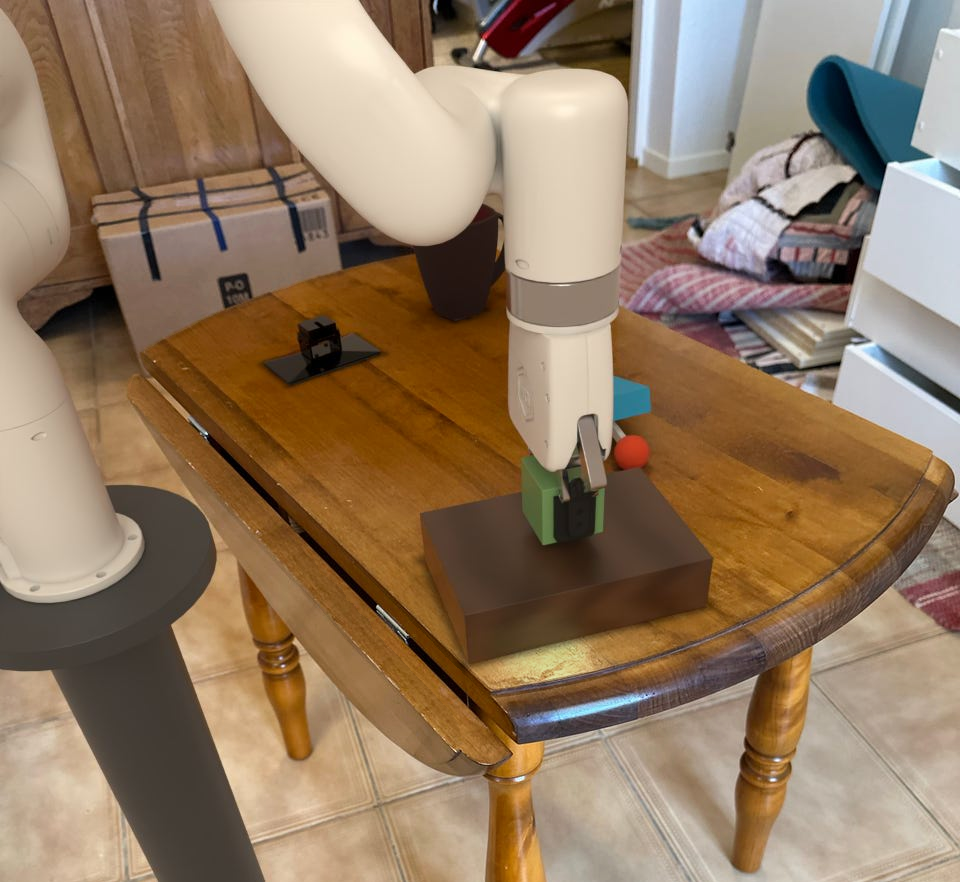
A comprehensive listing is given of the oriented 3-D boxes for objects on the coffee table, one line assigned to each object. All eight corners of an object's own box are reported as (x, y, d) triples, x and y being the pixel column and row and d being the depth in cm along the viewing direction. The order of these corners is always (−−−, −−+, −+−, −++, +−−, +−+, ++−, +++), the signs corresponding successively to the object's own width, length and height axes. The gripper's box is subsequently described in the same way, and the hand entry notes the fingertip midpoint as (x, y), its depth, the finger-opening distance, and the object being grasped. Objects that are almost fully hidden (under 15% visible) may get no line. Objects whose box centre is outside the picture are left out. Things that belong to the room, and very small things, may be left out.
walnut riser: (468, 664, 71) (464, 615, 68) (424, 560, 81) (419, 512, 78) (706, 607, 75) (713, 557, 71) (636, 513, 85) (639, 466, 81)
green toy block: (542, 545, 72) (542, 491, 68) (522, 511, 75) (520, 457, 72) (603, 532, 72) (605, 477, 69) (580, 498, 76) (581, 445, 73)
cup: (406, 309, 121) (396, 213, 113) (491, 281, 127) (487, 187, 119) (449, 333, 115) (441, 233, 107) (536, 302, 121) (535, 205, 113)
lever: (536, 443, 103) (609, 482, 88) (528, 380, 100) (602, 409, 85) (592, 429, 105) (673, 465, 89) (586, 367, 102) (669, 393, 86)
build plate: (289, 386, 107) (281, 348, 104) (262, 365, 112) (254, 328, 109) (381, 353, 112) (376, 316, 109) (352, 334, 117) (346, 298, 113)
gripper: (472, 255, 67) (485, 472, 79) (552, 353, 54) (553, 591, 67) (570, 239, 68) (567, 455, 80) (670, 331, 56) (649, 569, 68)
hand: (561, 515), depth 73 cm, fingers closed on green toy block, 5 cm apart
